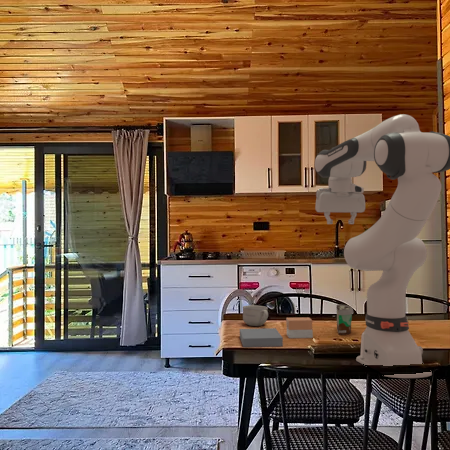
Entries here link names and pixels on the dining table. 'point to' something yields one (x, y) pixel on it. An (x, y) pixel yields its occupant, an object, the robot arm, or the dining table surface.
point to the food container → (344, 319)
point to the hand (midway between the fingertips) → (340, 224)
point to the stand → (261, 337)
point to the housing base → (300, 333)
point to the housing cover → (299, 323)
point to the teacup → (255, 315)
